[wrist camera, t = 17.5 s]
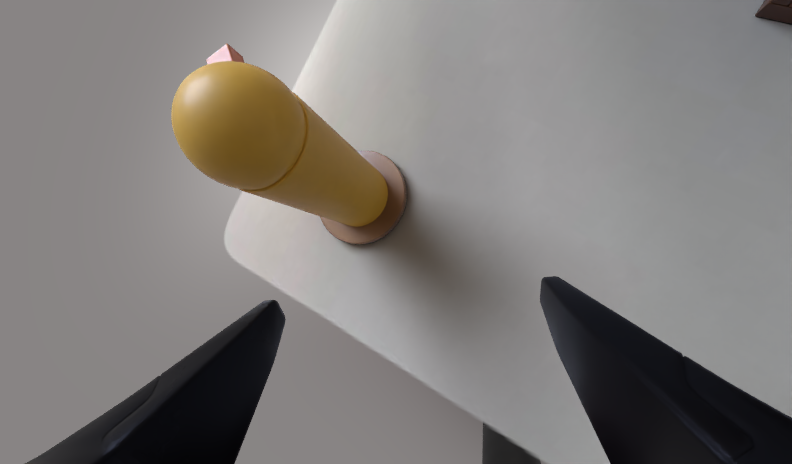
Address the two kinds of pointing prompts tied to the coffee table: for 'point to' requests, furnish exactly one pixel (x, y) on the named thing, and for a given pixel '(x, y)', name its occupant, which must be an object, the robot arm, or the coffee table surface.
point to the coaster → (388, 215)
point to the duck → (271, 143)
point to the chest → (776, 10)
